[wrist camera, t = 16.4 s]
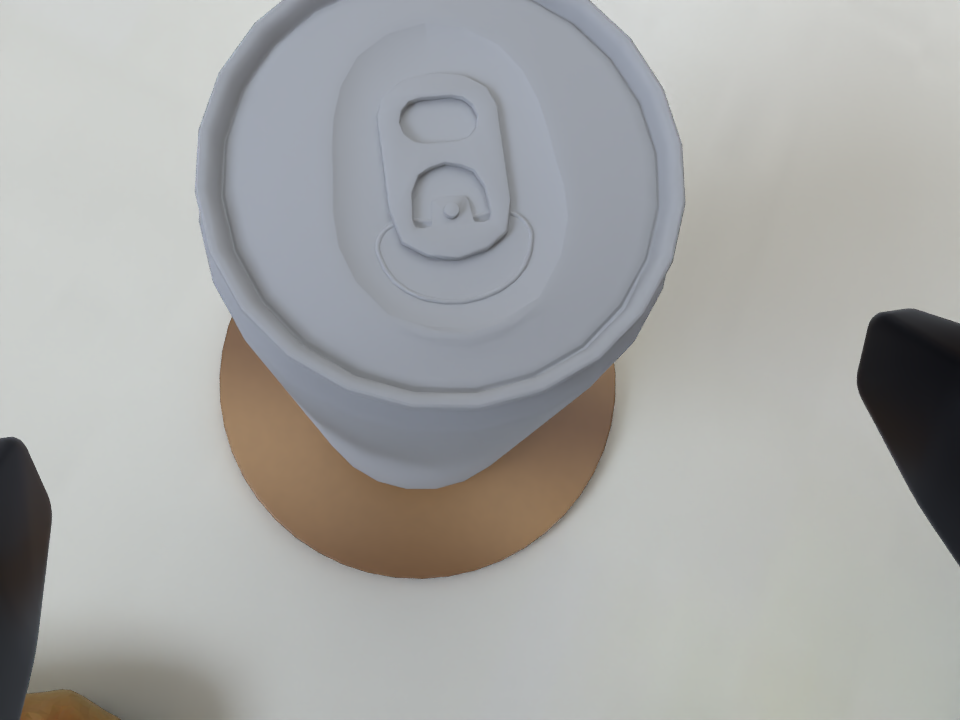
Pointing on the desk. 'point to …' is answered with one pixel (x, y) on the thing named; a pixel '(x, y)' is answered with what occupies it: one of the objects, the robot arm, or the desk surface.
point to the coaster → (398, 511)
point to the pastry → (62, 707)
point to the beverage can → (437, 217)
